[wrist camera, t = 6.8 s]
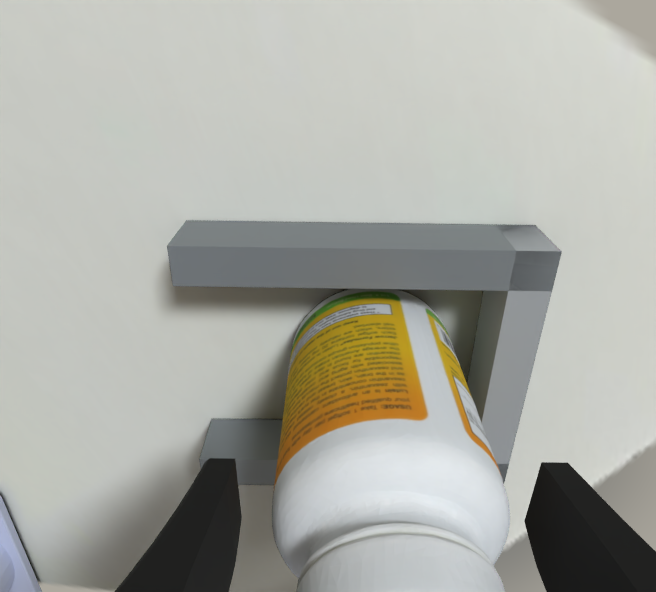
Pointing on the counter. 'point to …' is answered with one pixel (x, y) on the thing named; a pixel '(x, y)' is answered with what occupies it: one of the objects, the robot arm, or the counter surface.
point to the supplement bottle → (384, 455)
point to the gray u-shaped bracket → (384, 273)
